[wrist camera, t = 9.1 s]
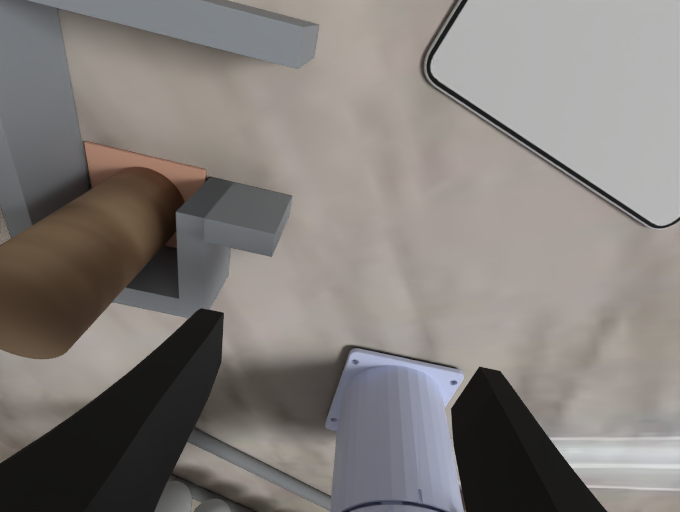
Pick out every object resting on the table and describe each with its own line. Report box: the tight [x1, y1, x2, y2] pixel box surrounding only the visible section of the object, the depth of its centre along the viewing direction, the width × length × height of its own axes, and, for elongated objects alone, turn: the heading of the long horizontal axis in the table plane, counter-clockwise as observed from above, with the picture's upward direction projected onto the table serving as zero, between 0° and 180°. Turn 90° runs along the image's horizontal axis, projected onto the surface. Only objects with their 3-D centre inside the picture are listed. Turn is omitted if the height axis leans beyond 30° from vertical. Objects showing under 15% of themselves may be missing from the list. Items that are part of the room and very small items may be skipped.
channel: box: [0, 0, 319, 318], centre depth 17 cm, size 14×12×4 cm
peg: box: [0, 167, 185, 359], centre depth 16 cm, size 4×4×9 cm
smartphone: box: [424, 0, 680, 230], centre depth 15 cm, size 7×1×15 cm
